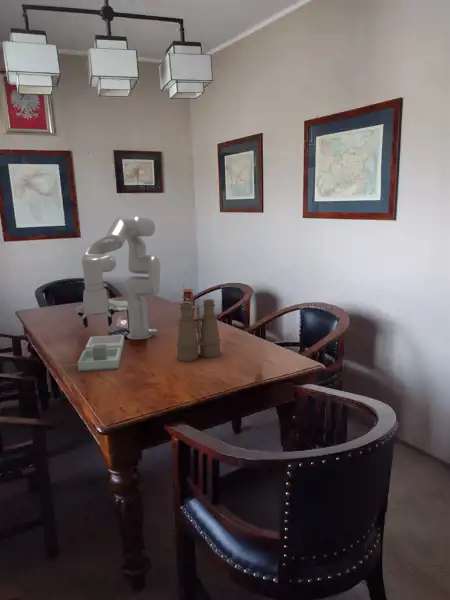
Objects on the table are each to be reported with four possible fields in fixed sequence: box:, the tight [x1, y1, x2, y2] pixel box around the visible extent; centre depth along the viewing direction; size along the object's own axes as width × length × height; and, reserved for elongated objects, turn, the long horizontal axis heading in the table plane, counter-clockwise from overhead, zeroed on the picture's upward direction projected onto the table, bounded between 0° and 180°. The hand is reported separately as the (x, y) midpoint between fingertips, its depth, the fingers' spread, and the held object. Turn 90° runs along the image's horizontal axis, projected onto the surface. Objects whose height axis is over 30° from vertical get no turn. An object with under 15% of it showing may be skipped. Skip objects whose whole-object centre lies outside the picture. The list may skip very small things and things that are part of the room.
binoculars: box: [175, 298, 222, 362], centre depth 196 cm, size 21×10×25 cm, turn 113°
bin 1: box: [85, 334, 125, 353], centre depth 210 cm, size 16×16×4 cm
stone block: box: [93, 344, 108, 361], centre depth 190 cm, size 5×5×7 cm
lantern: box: [181, 273, 197, 328], centre depth 244 cm, size 10×10×30 cm
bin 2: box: [77, 348, 122, 373], centre depth 191 cm, size 16×16×4 cm
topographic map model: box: [93, 298, 128, 315], centre depth 296 cm, size 36×29×5 cm
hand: (98, 326), depth 188 cm, fingers open, 9 cm apart
